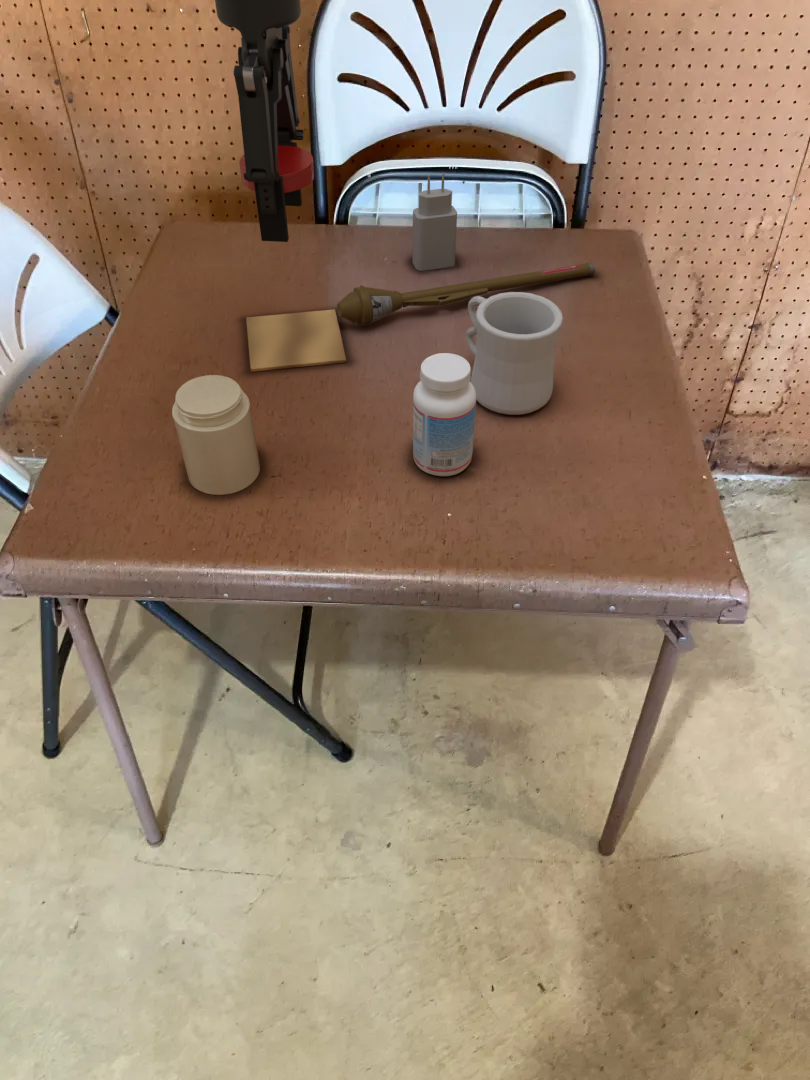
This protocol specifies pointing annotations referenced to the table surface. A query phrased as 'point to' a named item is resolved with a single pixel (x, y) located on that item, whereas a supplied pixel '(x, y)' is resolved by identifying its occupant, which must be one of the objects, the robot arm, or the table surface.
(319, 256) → the table surface
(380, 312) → the toy grenade launcher
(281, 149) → the lid
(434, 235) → the power adapter
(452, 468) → the pill bottle
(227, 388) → the beige jar
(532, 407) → the mug
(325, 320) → the coaster
